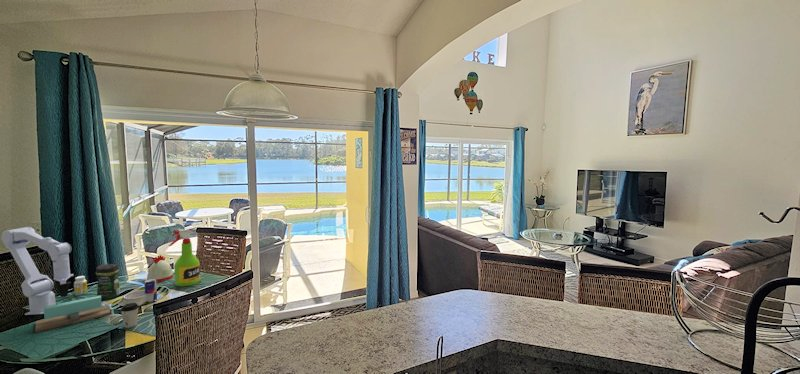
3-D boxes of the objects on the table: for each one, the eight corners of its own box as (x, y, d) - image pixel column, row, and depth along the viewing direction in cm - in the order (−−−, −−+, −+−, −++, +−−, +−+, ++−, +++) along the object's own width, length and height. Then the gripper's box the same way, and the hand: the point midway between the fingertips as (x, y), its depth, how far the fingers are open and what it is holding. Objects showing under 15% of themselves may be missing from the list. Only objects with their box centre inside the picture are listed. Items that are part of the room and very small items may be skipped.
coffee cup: (124, 330, 156) (123, 309, 155) (118, 326, 160) (117, 305, 159) (142, 324, 162) (141, 304, 161) (136, 320, 166) (135, 300, 165)
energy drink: (150, 303, 183) (149, 282, 182) (142, 302, 184) (141, 281, 183) (159, 299, 188) (158, 278, 187) (151, 298, 190) (150, 278, 188)
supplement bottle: (75, 295, 191) (74, 279, 190) (74, 293, 194) (72, 277, 193) (88, 293, 195) (87, 277, 194) (86, 290, 198) (85, 274, 197)
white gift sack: (141, 280, 215) (140, 258, 213) (160, 273, 228) (159, 251, 227) (160, 282, 212) (159, 259, 211) (178, 275, 226) (177, 253, 224)
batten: (44, 319, 157) (43, 309, 157) (45, 316, 160) (44, 306, 159) (101, 306, 171) (101, 297, 170) (101, 304, 173) (100, 295, 173)
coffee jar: (94, 299, 186) (92, 267, 185) (104, 293, 194) (102, 262, 192) (114, 299, 188) (112, 266, 186) (123, 293, 196) (121, 262, 194)
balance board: (36, 323, 161) (35, 316, 160) (107, 306, 179) (107, 300, 179) (35, 332, 152) (34, 325, 152) (110, 314, 171) (110, 307, 171)
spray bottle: (162, 287, 205) (160, 230, 202) (189, 277, 223) (187, 224, 219) (179, 290, 202) (177, 232, 198) (205, 279, 219) (203, 226, 215)
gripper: (73, 269, 165) (75, 296, 167) (72, 262, 175) (74, 287, 177) (52, 272, 160) (55, 300, 162) (52, 265, 170) (55, 291, 172)
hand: (63, 294), depth 169 cm, fingers open, 7 cm apart
